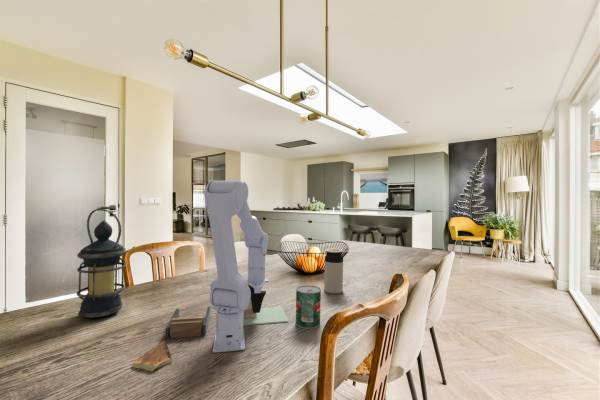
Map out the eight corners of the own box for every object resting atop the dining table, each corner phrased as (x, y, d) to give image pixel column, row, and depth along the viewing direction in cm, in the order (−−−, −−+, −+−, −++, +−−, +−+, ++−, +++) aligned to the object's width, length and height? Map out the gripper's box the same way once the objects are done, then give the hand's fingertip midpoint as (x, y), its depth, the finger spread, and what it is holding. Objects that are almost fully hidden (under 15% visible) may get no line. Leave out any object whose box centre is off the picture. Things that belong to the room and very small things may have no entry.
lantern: (135, 309, 96) (137, 209, 96) (98, 325, 83) (101, 209, 83) (103, 304, 99) (106, 207, 100) (63, 319, 87) (66, 208, 87)
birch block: (256, 317, 90) (256, 299, 90) (231, 319, 88) (231, 301, 88) (255, 313, 93) (255, 295, 94) (231, 314, 92) (231, 296, 92)
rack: (205, 335, 78) (205, 325, 78) (165, 339, 76) (165, 328, 76) (210, 315, 92) (210, 306, 92) (176, 317, 89) (176, 308, 89)
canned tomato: (292, 320, 90) (292, 286, 90) (314, 316, 92) (314, 284, 92) (300, 330, 82) (301, 294, 82) (324, 327, 85) (325, 291, 85)
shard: (165, 345, 73) (165, 338, 73) (189, 349, 71) (189, 342, 71) (130, 369, 63) (130, 361, 63) (158, 375, 61) (158, 366, 61)
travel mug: (345, 293, 118) (346, 251, 118) (329, 295, 115) (330, 252, 115) (336, 287, 125) (337, 248, 125) (321, 289, 122) (321, 248, 122)
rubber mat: (288, 322, 88) (288, 320, 88) (223, 327, 83) (223, 325, 83) (282, 307, 100) (282, 306, 100) (225, 311, 95) (225, 310, 95)
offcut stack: (201, 335, 78) (202, 320, 78) (169, 338, 76) (170, 322, 76) (203, 328, 82) (203, 313, 82) (173, 331, 80) (173, 315, 80)
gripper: (271, 272, 85) (270, 315, 85) (266, 262, 100) (265, 299, 100) (248, 273, 84) (247, 317, 84) (246, 262, 98) (245, 300, 98)
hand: (255, 307), depth 92 cm, fingers open, 7 cm apart
